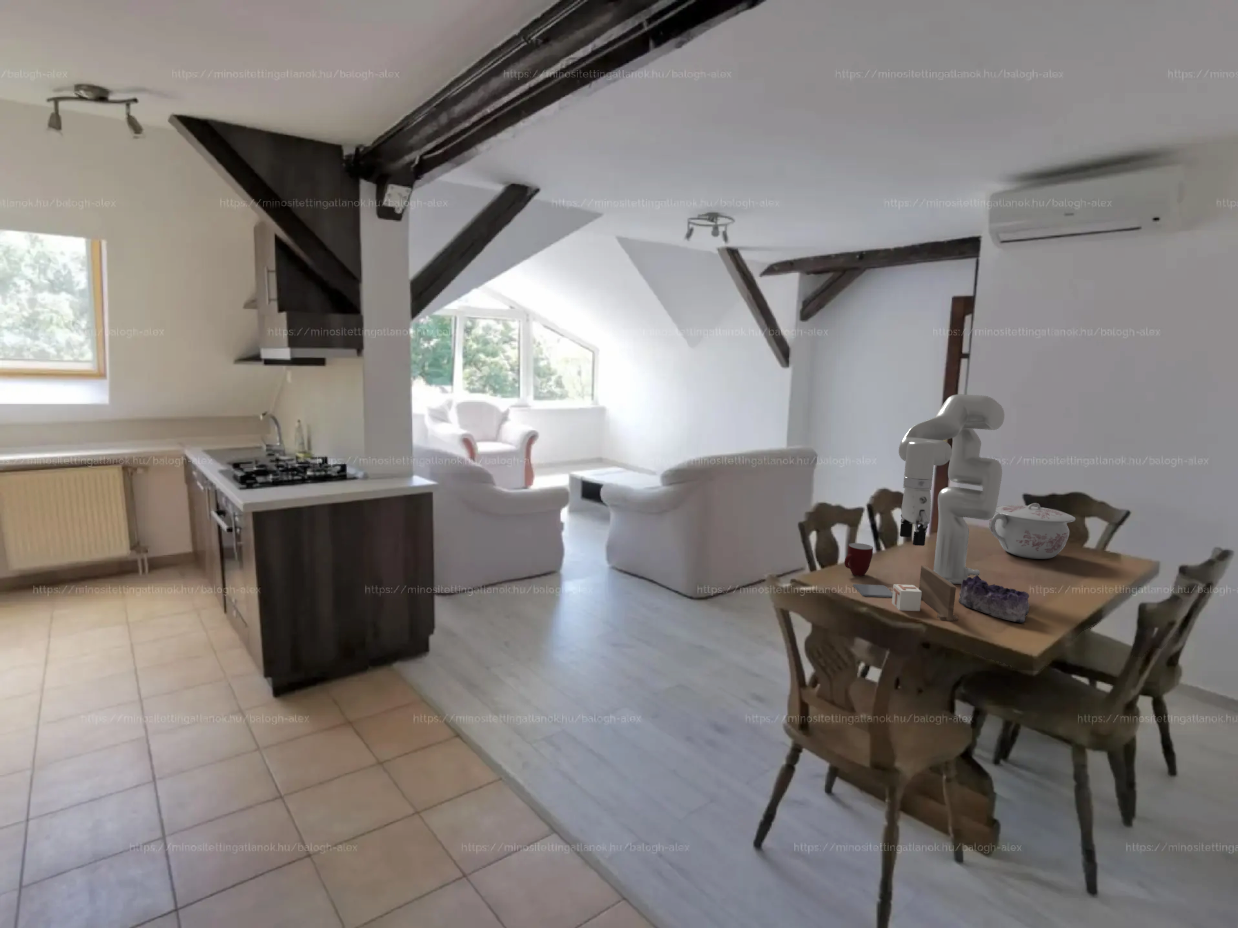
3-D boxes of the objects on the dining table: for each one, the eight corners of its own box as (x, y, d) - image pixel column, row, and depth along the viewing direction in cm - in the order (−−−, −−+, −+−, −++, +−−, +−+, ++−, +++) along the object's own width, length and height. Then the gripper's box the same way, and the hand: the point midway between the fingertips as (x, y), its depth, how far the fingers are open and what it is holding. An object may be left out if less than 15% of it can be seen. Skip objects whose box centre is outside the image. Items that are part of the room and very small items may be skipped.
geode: (947, 605, 203) (952, 573, 203) (965, 603, 210) (970, 572, 210) (1019, 625, 187) (1024, 589, 187) (1036, 622, 194) (1041, 587, 194)
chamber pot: (1069, 553, 268) (1076, 502, 265) (1071, 569, 245) (1078, 514, 242) (989, 541, 283) (995, 493, 280) (984, 555, 260) (990, 503, 257)
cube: (911, 603, 203) (913, 584, 202) (919, 611, 197) (921, 590, 196) (891, 603, 204) (892, 583, 203) (898, 610, 198) (900, 590, 197)
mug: (856, 580, 224) (859, 551, 222) (836, 574, 230) (838, 545, 229) (875, 575, 230) (878, 547, 229) (855, 569, 237) (857, 541, 235)
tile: (884, 586, 218) (884, 585, 218) (895, 597, 208) (895, 595, 208) (853, 585, 219) (853, 583, 218) (863, 596, 209) (863, 594, 209)
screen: (928, 596, 210) (931, 565, 209) (958, 620, 190) (962, 587, 189) (912, 596, 210) (915, 565, 209) (940, 620, 190) (944, 586, 189)
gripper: (943, 489, 186) (937, 549, 189) (918, 479, 203) (912, 534, 206) (916, 488, 187) (910, 548, 189) (893, 478, 204) (888, 533, 206)
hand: (911, 540), depth 197 cm, fingers open, 9 cm apart
